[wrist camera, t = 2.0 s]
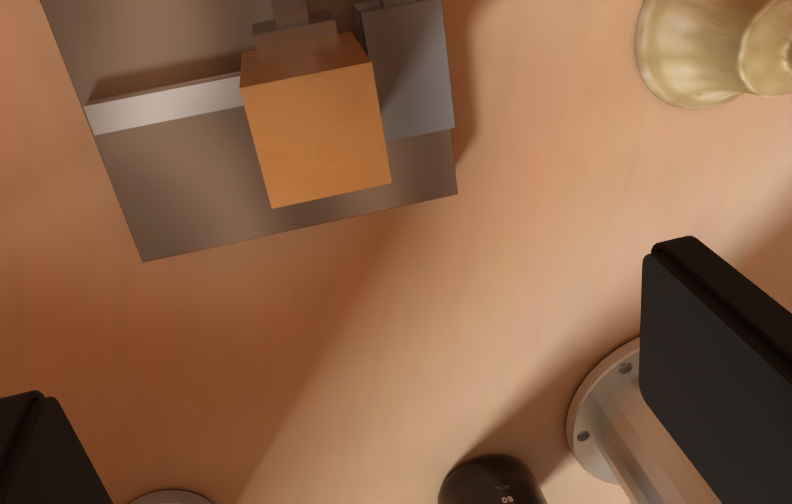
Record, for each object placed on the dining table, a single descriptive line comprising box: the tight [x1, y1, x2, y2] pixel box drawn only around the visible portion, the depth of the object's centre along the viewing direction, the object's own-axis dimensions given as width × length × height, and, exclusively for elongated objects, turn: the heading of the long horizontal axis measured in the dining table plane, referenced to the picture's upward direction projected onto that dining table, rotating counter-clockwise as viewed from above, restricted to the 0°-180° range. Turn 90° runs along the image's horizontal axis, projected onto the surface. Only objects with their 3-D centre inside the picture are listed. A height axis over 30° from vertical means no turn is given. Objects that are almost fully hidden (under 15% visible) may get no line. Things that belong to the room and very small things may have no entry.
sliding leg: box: [239, 0, 392, 209], centre depth 23 cm, size 4×12×8 cm, turn 8°
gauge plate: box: [40, 0, 458, 262], centre depth 26 cm, size 15×20×5 cm
